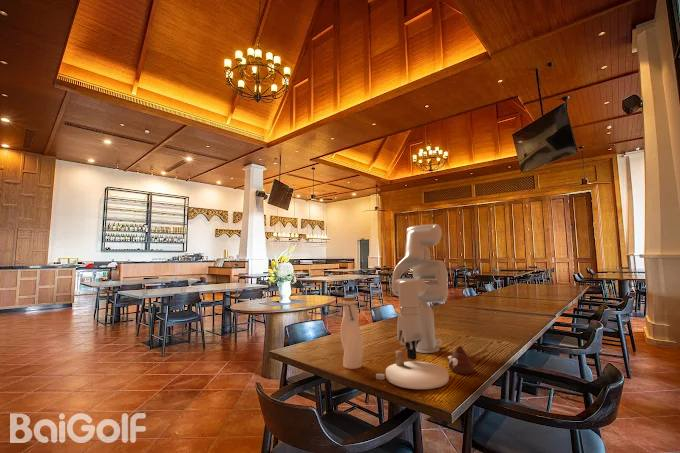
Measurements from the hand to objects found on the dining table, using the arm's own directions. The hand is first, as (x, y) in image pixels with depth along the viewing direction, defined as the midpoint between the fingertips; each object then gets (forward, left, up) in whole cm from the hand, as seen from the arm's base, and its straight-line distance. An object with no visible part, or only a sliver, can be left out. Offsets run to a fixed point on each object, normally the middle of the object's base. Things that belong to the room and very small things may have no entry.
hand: (412, 358), depth 125 cm
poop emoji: (-13, +12, -4) cm, 19 cm away
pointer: (+16, 0, -4) cm, 17 cm away
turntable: (+6, +8, -4) cm, 11 cm away
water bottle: (+16, -18, -4) cm, 24 cm away
